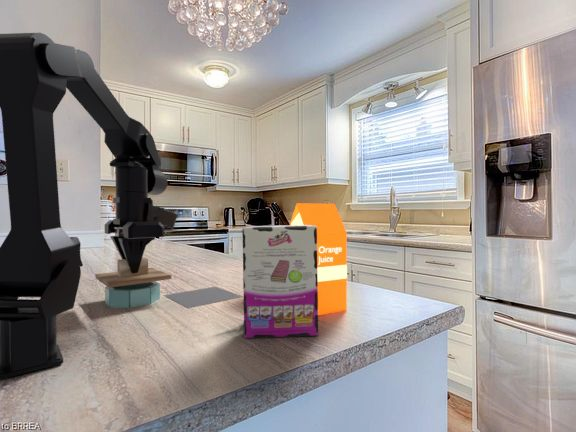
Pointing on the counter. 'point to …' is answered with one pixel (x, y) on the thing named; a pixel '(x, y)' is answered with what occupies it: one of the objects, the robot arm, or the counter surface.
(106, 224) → the robot arm
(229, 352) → the counter surface
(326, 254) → the orange juice
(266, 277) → the candy bar box
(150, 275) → the lid
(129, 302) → the bowl
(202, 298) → the mat
